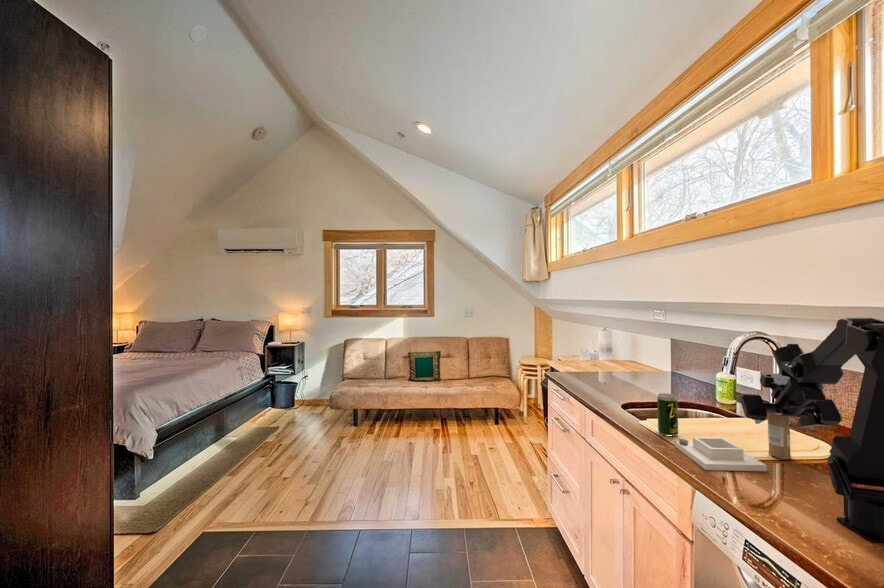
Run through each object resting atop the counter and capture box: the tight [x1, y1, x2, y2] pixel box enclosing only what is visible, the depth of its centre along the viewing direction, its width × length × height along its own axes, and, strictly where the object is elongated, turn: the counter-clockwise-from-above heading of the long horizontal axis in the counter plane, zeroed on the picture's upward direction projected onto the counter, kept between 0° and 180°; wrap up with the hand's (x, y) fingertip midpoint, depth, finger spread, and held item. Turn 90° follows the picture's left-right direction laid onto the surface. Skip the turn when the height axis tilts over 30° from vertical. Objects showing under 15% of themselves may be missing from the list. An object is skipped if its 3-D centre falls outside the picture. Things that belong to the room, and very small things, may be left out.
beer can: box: [656, 392, 679, 437], centre depth 115 cm, size 5×5×12 cm
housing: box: [674, 436, 768, 472], centre depth 98 cm, size 14×14×4 cm
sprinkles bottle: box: [767, 413, 792, 460], centre depth 98 cm, size 5×5×14 cm
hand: (776, 423), depth 99 cm, fingers open, 9 cm apart
